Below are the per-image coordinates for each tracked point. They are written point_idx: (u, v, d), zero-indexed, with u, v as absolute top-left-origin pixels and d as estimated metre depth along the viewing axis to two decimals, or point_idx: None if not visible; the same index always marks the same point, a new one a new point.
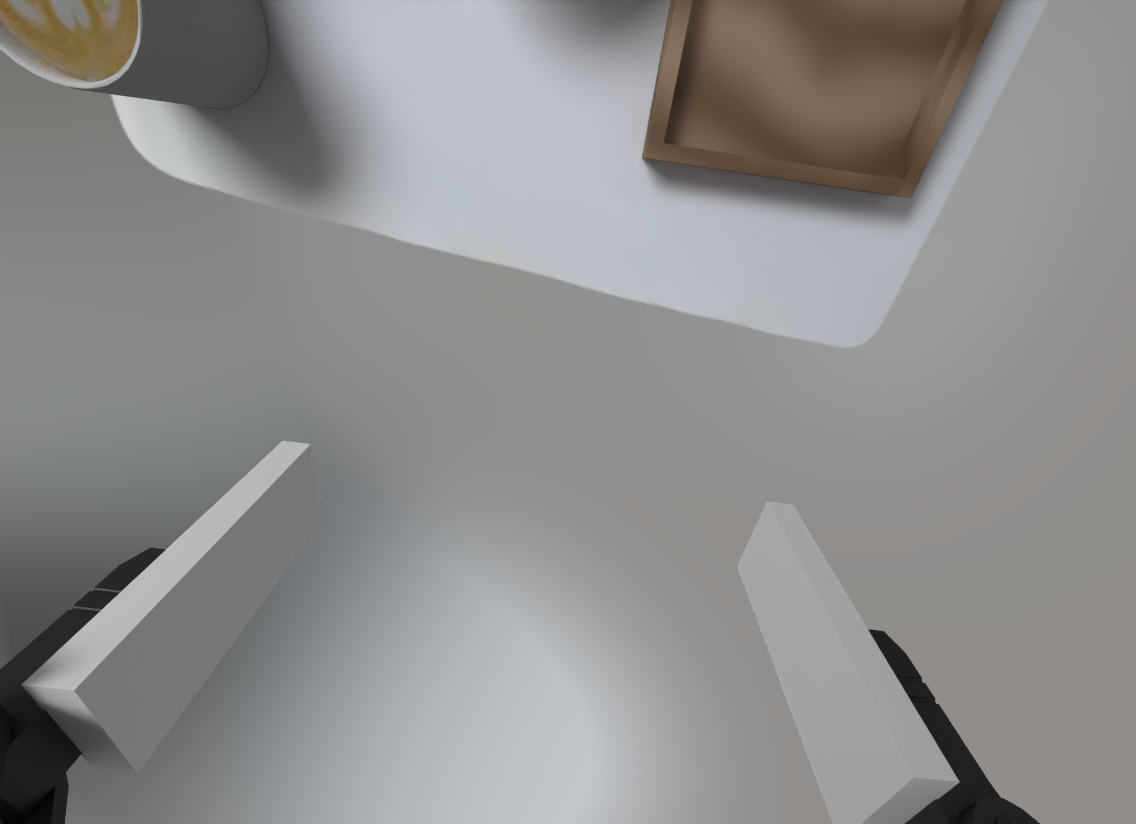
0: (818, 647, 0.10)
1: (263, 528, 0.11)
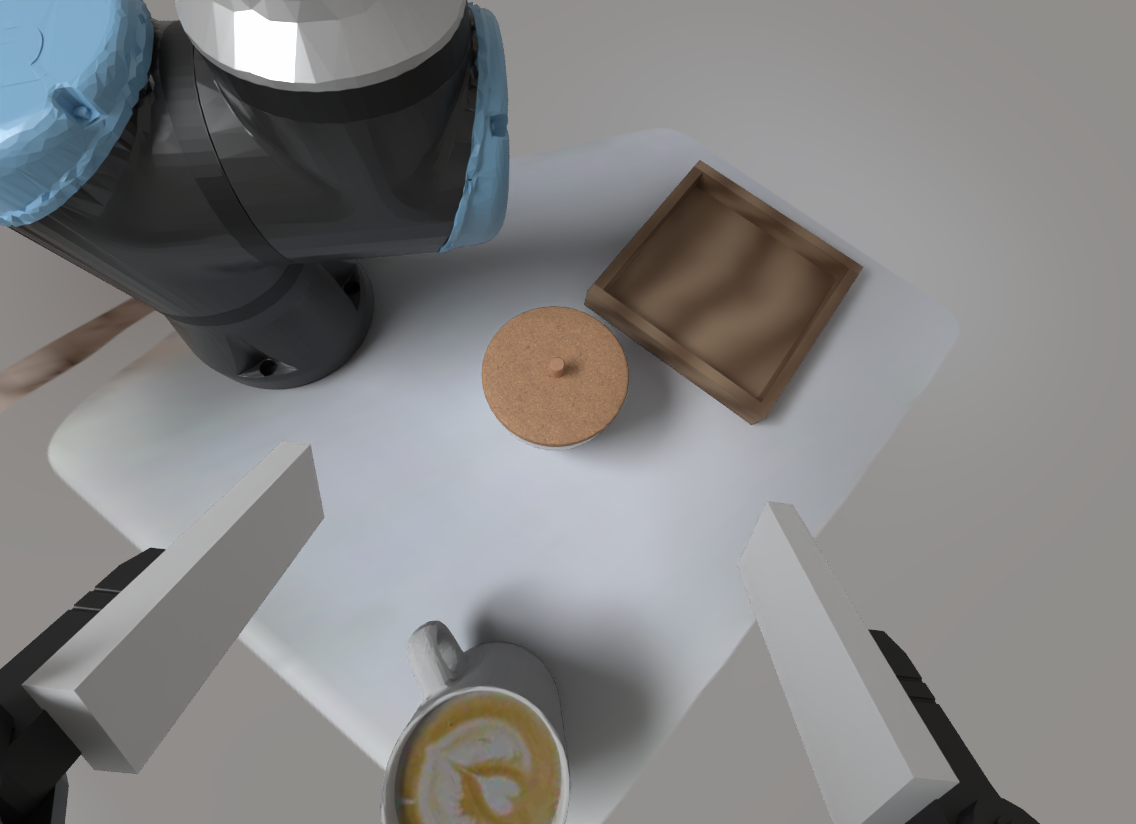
0: (818, 647, 0.10)
1: (263, 528, 0.11)
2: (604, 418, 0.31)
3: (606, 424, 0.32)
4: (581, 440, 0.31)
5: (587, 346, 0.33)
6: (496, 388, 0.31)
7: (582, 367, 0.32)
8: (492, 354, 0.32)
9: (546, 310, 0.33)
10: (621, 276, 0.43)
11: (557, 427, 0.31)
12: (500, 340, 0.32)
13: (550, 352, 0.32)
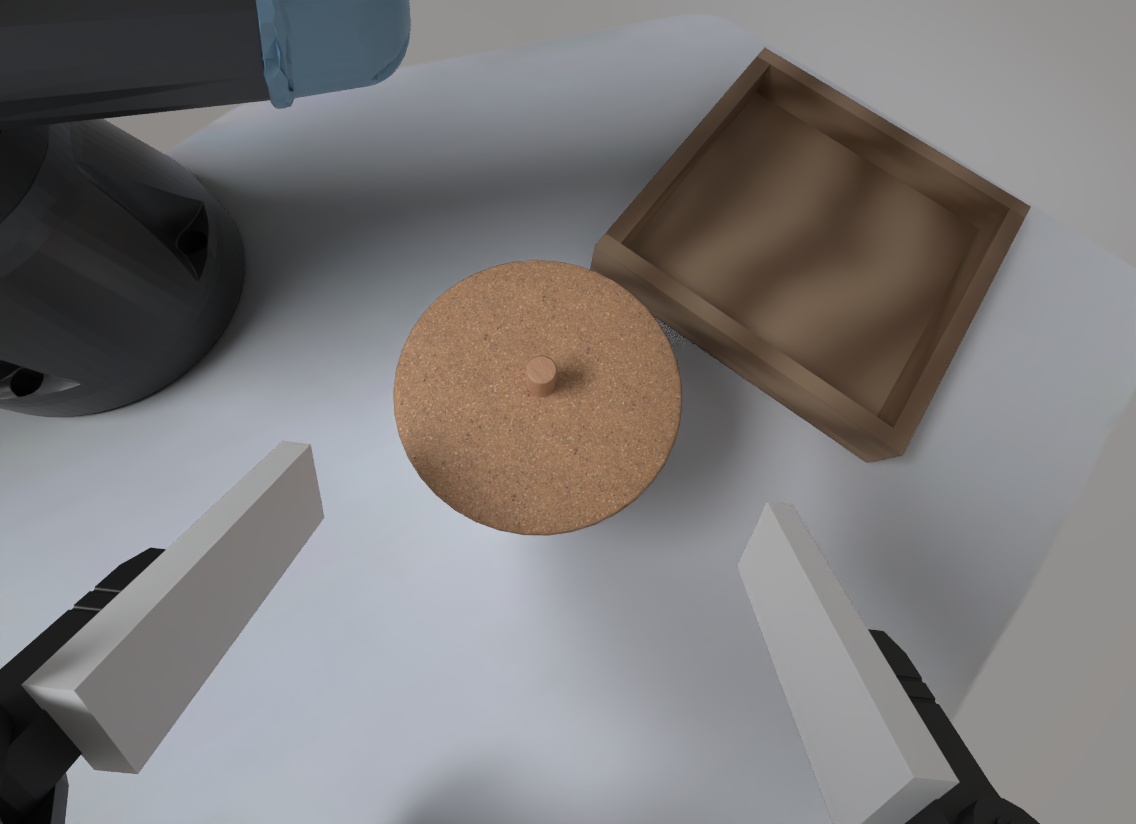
0: (818, 647, 0.10)
1: (263, 528, 0.11)
2: (638, 477, 0.16)
3: (642, 489, 0.16)
4: (593, 523, 0.15)
5: (600, 333, 0.17)
6: (421, 420, 0.16)
7: (592, 375, 0.16)
8: (415, 352, 0.16)
9: (521, 267, 0.18)
10: (647, 226, 0.27)
11: (544, 498, 0.15)
12: (432, 323, 0.17)
13: (529, 346, 0.17)
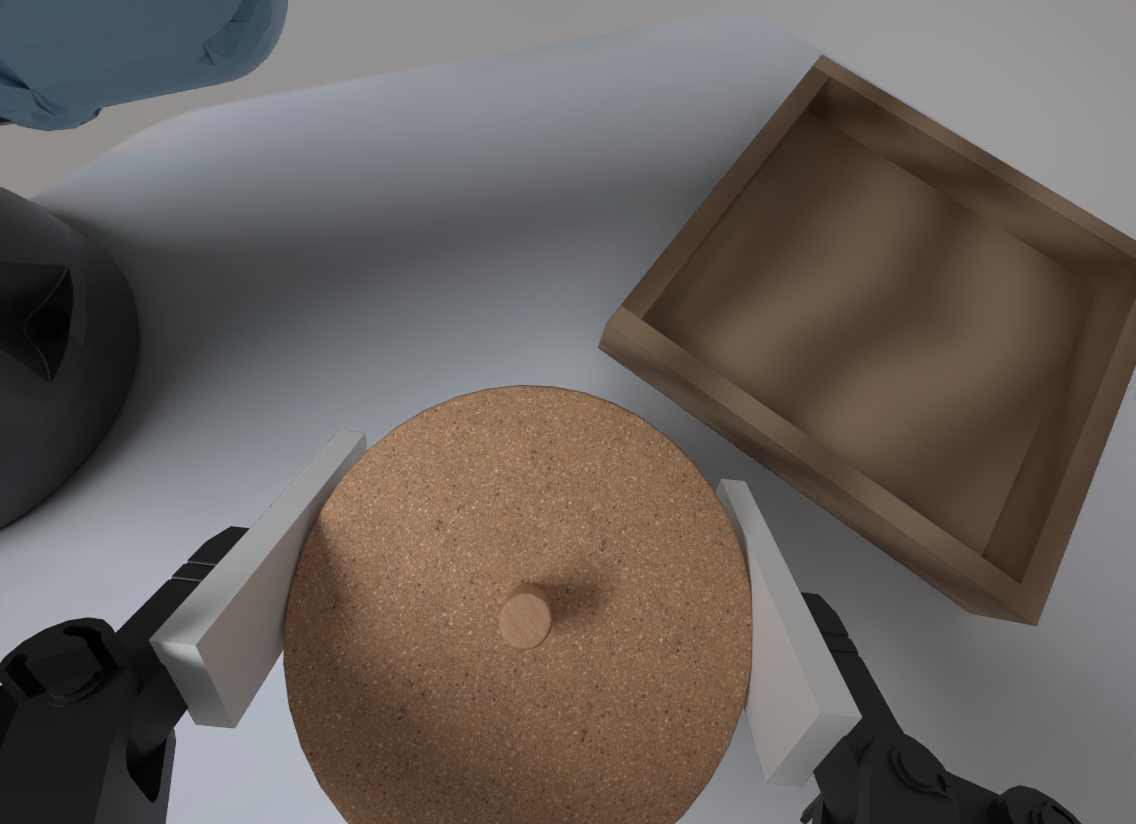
0: (755, 608, 0.10)
1: None
2: (688, 778, 0.09)
3: (695, 796, 0.09)
4: None
5: (622, 514, 0.11)
6: (324, 681, 0.09)
7: (611, 589, 0.10)
8: (322, 553, 0.10)
9: (499, 400, 0.11)
10: (674, 287, 0.21)
11: None
12: (353, 502, 0.10)
13: (509, 540, 0.10)
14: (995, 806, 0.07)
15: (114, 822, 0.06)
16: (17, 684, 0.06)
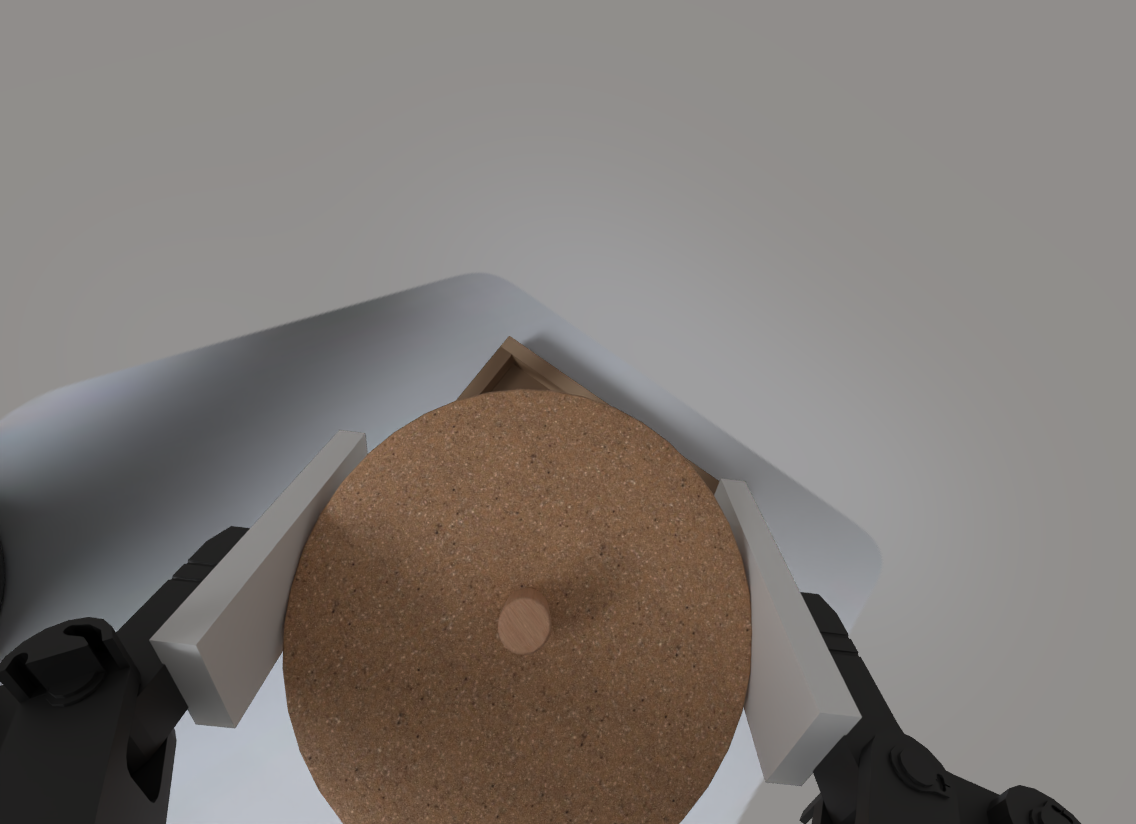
0: (754, 607, 0.10)
1: None
2: (687, 783, 0.09)
3: (694, 801, 0.09)
4: None
5: (622, 518, 0.11)
6: (324, 685, 0.09)
7: (610, 594, 0.10)
8: (321, 557, 0.10)
9: (499, 403, 0.11)
10: None
11: None
12: (352, 506, 0.10)
13: (508, 545, 0.10)
14: (995, 806, 0.07)
15: (114, 822, 0.06)
16: (17, 684, 0.06)
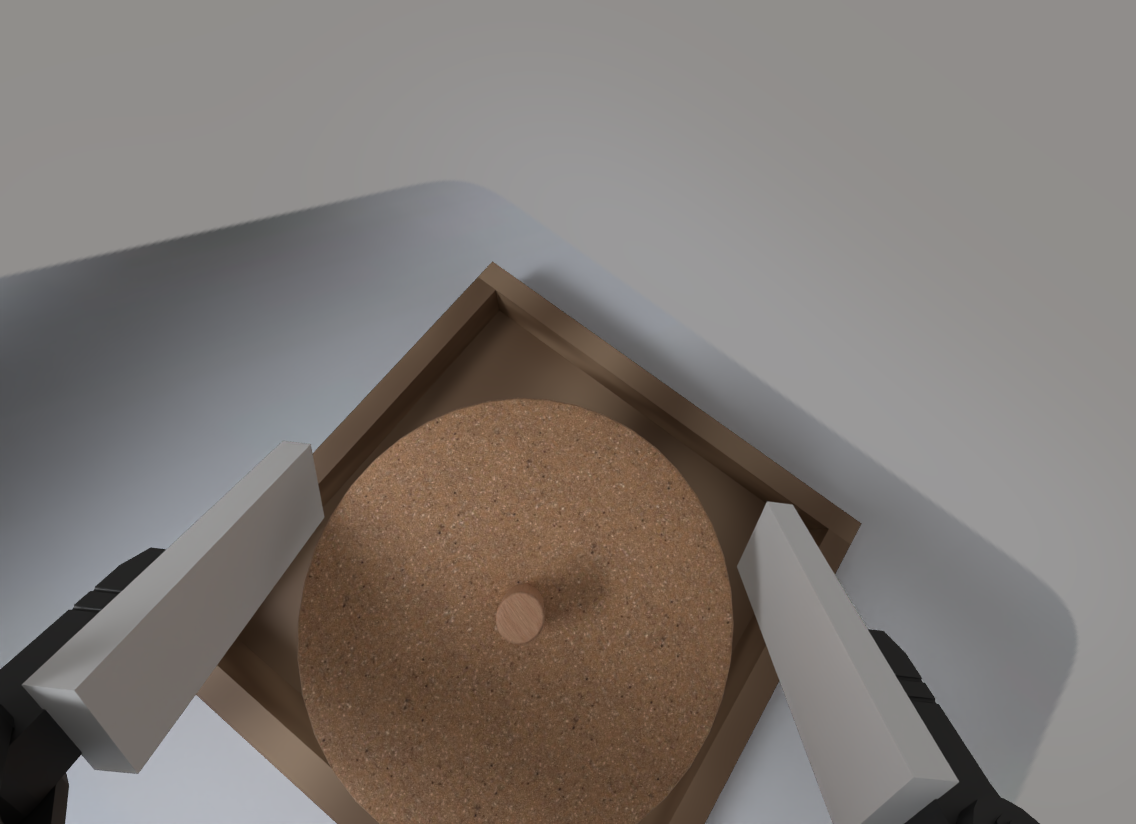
0: (818, 647, 0.10)
1: (263, 528, 0.11)
2: (671, 763, 0.10)
3: (677, 780, 0.10)
4: None
5: (612, 519, 0.11)
6: (336, 674, 0.10)
7: (600, 589, 0.11)
8: (332, 556, 0.11)
9: (497, 412, 0.12)
10: None
11: (525, 810, 0.10)
12: (361, 508, 0.11)
13: (506, 544, 0.11)
14: None
15: None
16: None
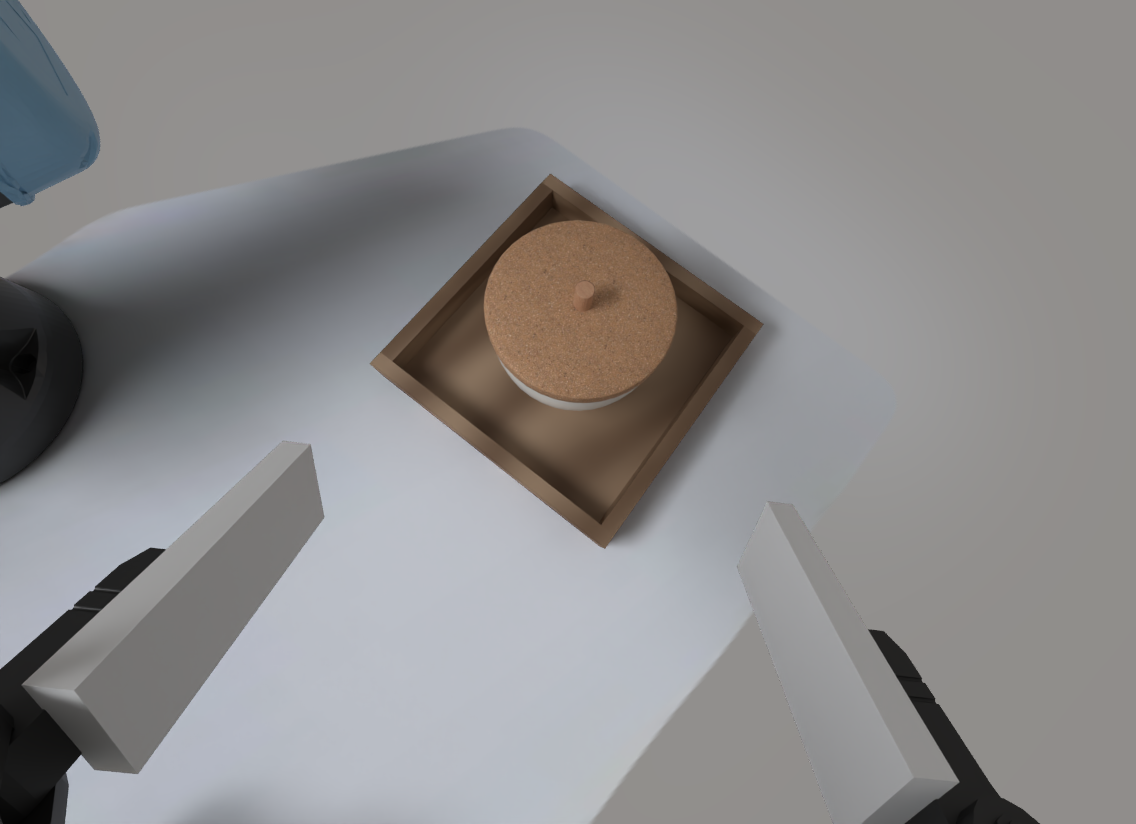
0: (818, 647, 0.10)
1: (263, 528, 0.11)
2: (646, 364, 0.24)
3: (649, 372, 0.24)
4: (616, 393, 0.23)
5: (622, 270, 0.25)
6: (503, 324, 0.24)
7: (617, 298, 0.24)
8: (497, 280, 0.24)
9: (568, 224, 0.25)
10: (435, 336, 0.31)
11: (585, 375, 0.23)
12: (508, 261, 0.24)
13: (574, 278, 0.24)
14: None
15: None
16: None
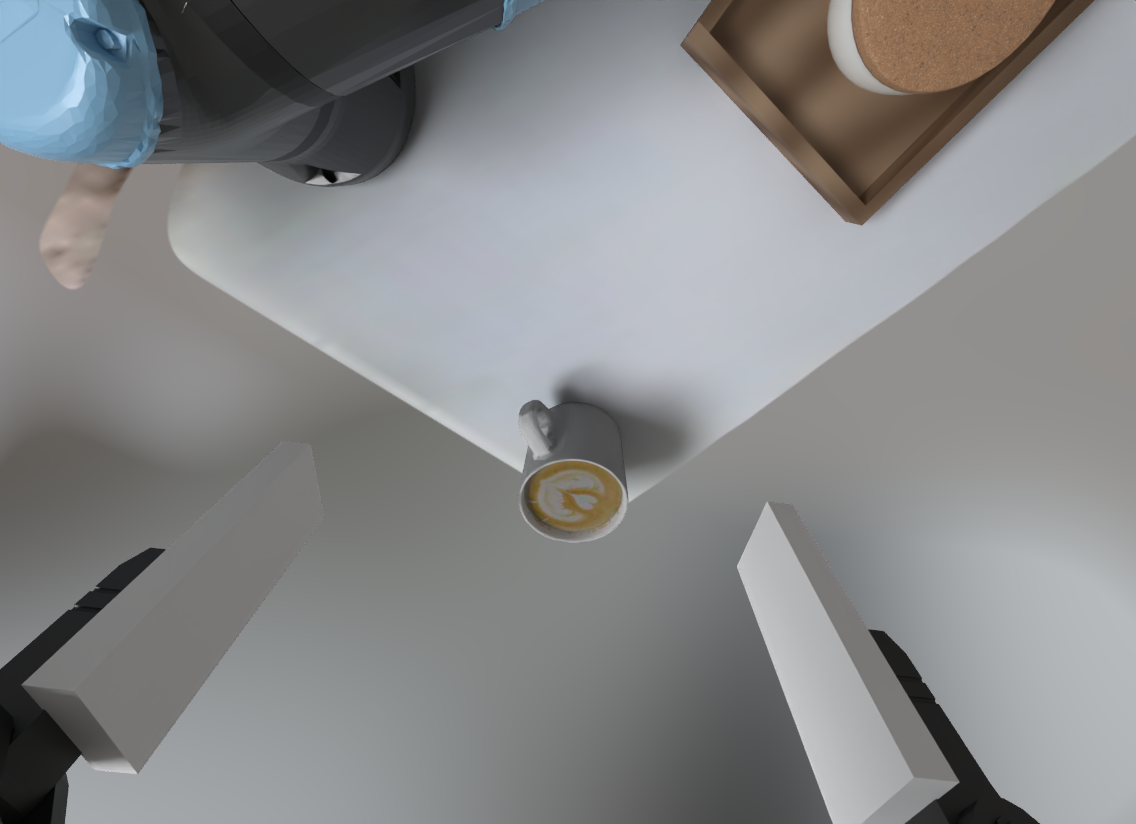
0: (818, 647, 0.10)
1: (263, 528, 0.11)
2: (1005, 50, 0.25)
3: (1003, 59, 0.25)
4: (960, 85, 0.26)
5: None
6: (879, 1, 0.24)
7: None
8: None
9: None
10: None
11: (940, 65, 0.25)
12: None
13: None
14: None
15: None
16: None
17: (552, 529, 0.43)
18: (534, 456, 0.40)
